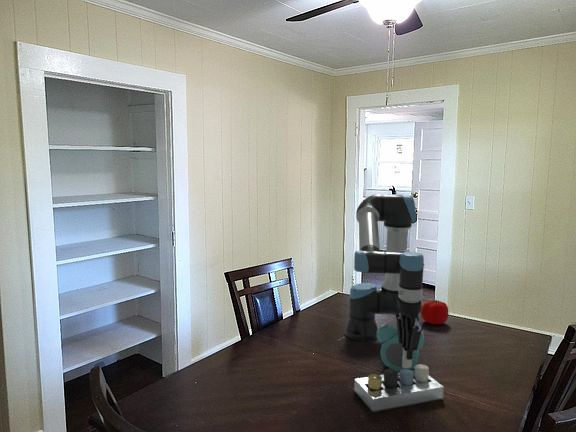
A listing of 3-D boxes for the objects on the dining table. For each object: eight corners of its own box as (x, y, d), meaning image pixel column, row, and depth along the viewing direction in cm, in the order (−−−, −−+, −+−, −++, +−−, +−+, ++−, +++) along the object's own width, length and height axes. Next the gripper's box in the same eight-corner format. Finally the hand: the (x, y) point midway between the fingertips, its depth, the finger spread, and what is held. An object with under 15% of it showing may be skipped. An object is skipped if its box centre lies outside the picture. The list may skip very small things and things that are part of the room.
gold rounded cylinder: (365, 392, 142) (365, 375, 141) (376, 390, 143) (377, 373, 143) (371, 398, 138) (372, 381, 137) (383, 396, 139) (384, 379, 139)
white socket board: (354, 391, 146) (354, 379, 145) (419, 380, 154) (420, 368, 153) (372, 412, 134) (373, 399, 133) (442, 399, 141) (443, 386, 141)
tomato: (452, 328, 203) (453, 304, 202) (423, 327, 204) (425, 304, 202) (443, 318, 216) (444, 296, 214) (416, 318, 216) (417, 296, 214)
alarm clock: (423, 366, 165) (425, 316, 162) (422, 377, 156) (424, 325, 153) (377, 359, 170) (379, 310, 168) (374, 369, 161) (376, 319, 159)
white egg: (411, 381, 147) (412, 365, 147) (422, 379, 149) (423, 363, 148) (419, 388, 143) (420, 371, 142) (430, 386, 145) (431, 369, 144)
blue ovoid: (396, 386, 146) (397, 370, 145) (407, 384, 147) (408, 368, 146) (403, 393, 142) (404, 376, 141) (415, 391, 143) (416, 374, 142)
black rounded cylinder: (381, 386, 144) (381, 370, 143) (392, 385, 145) (393, 368, 144) (388, 393, 140) (388, 376, 139) (399, 391, 141) (400, 374, 140)
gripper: (389, 294, 146) (386, 359, 149) (411, 307, 133) (408, 377, 136) (408, 292, 148) (405, 356, 151) (431, 304, 135) (428, 374, 139)
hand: (406, 366), depth 144 cm, fingers closed
